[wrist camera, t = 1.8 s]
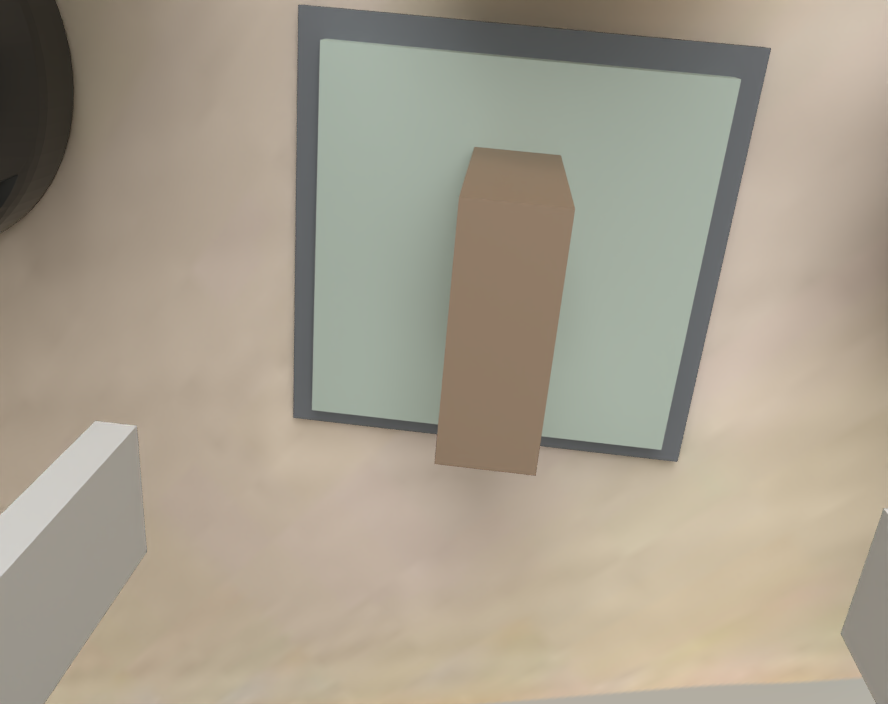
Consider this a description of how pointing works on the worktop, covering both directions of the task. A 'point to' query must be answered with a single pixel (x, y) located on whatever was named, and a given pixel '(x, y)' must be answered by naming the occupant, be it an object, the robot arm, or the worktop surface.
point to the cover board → (417, 216)
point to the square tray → (530, 44)
